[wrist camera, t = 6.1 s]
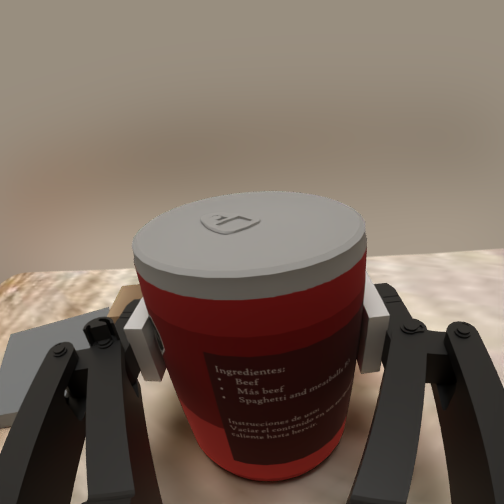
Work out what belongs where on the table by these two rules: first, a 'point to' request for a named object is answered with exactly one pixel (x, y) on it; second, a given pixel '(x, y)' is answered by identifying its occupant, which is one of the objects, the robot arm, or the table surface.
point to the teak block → (124, 300)
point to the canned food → (258, 323)
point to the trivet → (35, 358)
